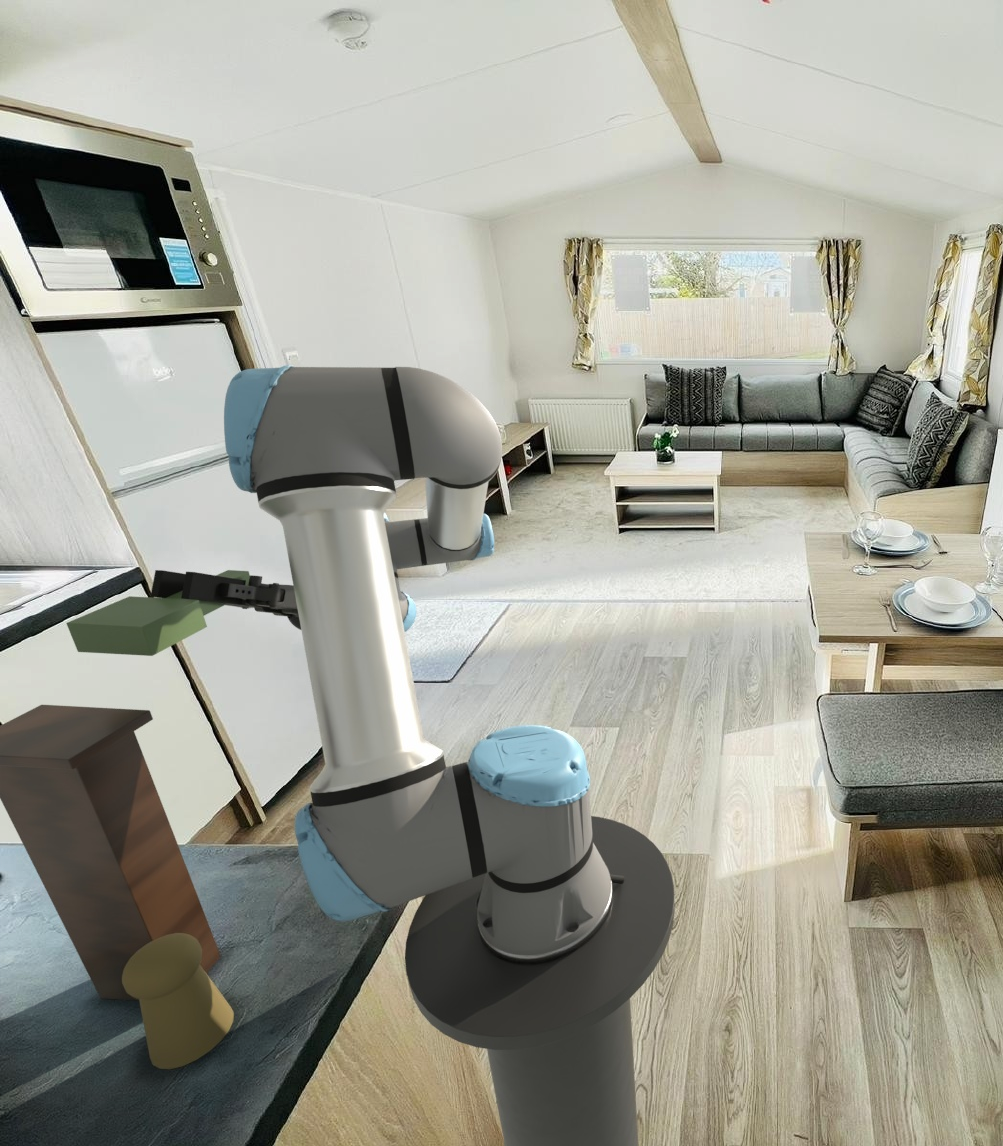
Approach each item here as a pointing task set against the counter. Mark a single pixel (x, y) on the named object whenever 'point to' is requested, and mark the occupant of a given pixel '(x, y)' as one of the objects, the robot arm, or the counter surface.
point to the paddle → (143, 623)
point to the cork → (176, 1000)
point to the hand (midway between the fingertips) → (172, 584)
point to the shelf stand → (99, 835)
